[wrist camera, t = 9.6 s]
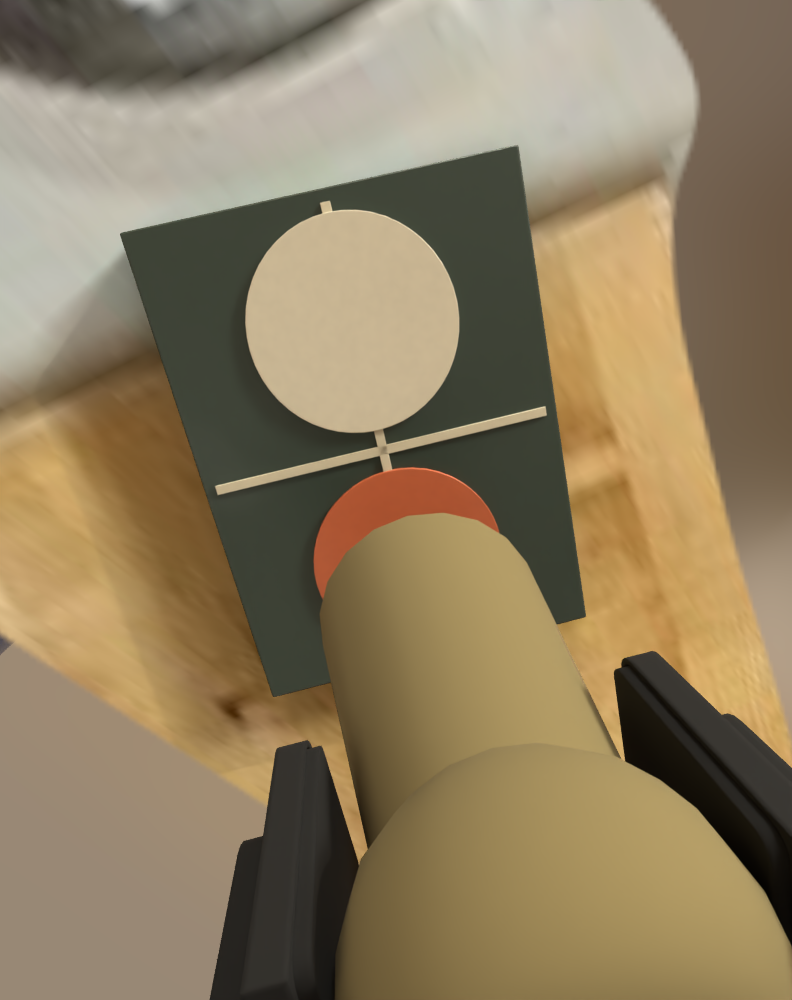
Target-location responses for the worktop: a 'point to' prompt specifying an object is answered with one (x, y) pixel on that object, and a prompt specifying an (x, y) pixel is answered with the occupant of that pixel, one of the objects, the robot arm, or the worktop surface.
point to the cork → (513, 802)
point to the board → (361, 381)
